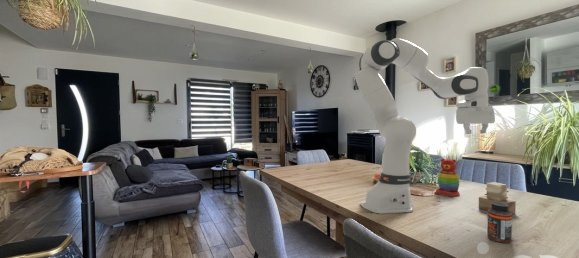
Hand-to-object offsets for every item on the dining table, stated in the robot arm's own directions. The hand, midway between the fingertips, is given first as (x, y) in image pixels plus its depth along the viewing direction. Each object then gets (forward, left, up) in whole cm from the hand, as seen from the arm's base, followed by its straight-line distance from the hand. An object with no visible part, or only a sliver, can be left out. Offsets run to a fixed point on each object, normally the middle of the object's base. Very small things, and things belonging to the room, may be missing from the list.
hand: (475, 133), depth 119 cm
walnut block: (-9, -15, -30) cm, 35 cm away
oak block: (-9, -15, -25) cm, 30 cm away
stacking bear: (-1, +13, -31) cm, 34 cm away
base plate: (-9, -15, -31) cm, 36 cm away
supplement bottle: (-31, -30, -31) cm, 53 cm away
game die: (+8, -4, -31) cm, 33 cm away
